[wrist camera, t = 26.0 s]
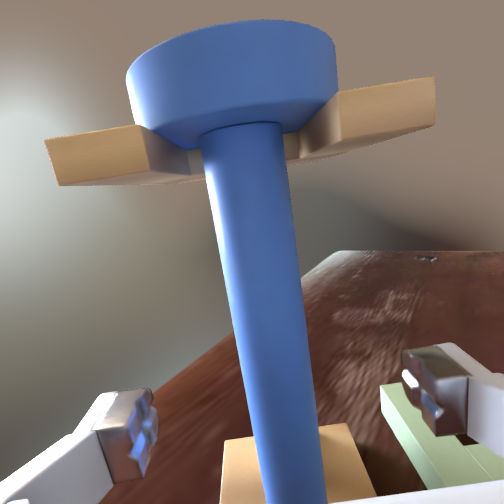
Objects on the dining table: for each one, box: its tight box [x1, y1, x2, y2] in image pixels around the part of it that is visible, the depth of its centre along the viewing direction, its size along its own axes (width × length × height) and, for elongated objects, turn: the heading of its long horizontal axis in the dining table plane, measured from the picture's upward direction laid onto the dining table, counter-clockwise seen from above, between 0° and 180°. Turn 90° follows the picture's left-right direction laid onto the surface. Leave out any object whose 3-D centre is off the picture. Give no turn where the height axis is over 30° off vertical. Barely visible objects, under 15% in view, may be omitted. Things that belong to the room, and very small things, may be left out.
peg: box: [126, 20, 338, 504], centre depth 11 cm, size 6×6×18 cm
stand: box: [44, 76, 435, 504], centre depth 14 cm, size 11×9×21 cm
